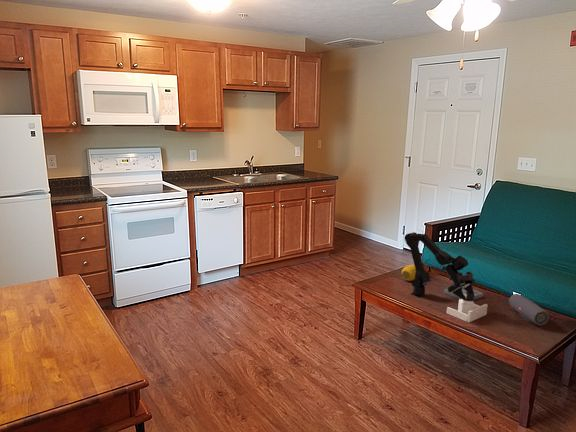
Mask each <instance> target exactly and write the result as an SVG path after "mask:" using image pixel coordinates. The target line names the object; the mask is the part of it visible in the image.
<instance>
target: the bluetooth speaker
mask: <svg viewBox="0 0 576 432" xmlns="http://www.w3.org/2000/svg"><path fill="white" fill-rule="evenodd" d="M508 305H510V308H512V309H513V310H515V311H516V312H517V313H518V315H520V316H521V318H523V319H525V320H526V321H528V322H530V323H533V324H535V325H537V326H544V325H546V324H547V323H548V321H549V320H550V319H549V318H550V317H549V313H548V312H547V311H546V310H545V309H543V308H542V307H540V306H539V305H538V304H536V303H535V302H534V301H532V300H530V299H529V298H527V297H525V296H523V295H521V294H519V293H514V294H512V295H511V296H510V297H509V299H508Z"/></svg>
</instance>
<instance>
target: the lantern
mask: <svg viewBox="0 0 576 432" xmlns="http://www.w3.org/2000/svg"><path fill="white" fill-rule="evenodd" d="M424 270H426V269H425V267H424ZM415 273H416V269H415V265H414V263H412V264H409V265H406V266H404V268H402V270H401V276H399V277H398V279H400V278H403V279H404V280H405V281H407V282H413V281H414V280H415Z"/></svg>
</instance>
